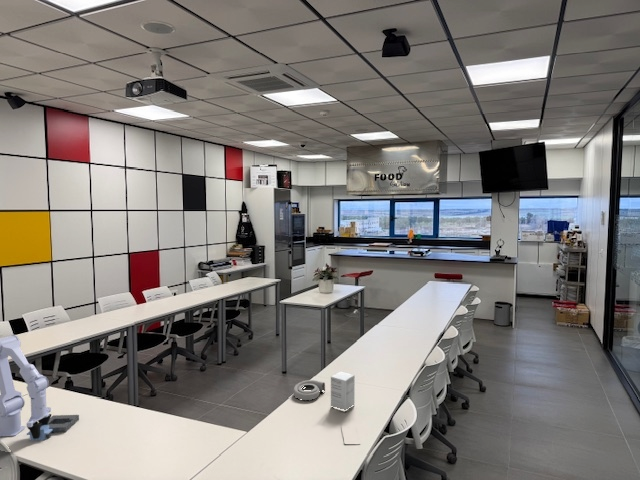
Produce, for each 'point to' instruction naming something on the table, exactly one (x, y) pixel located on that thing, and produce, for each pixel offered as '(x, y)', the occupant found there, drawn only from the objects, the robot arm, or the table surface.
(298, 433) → the table surface
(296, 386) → the turbocharger housing
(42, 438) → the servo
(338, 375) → the supplement box
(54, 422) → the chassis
